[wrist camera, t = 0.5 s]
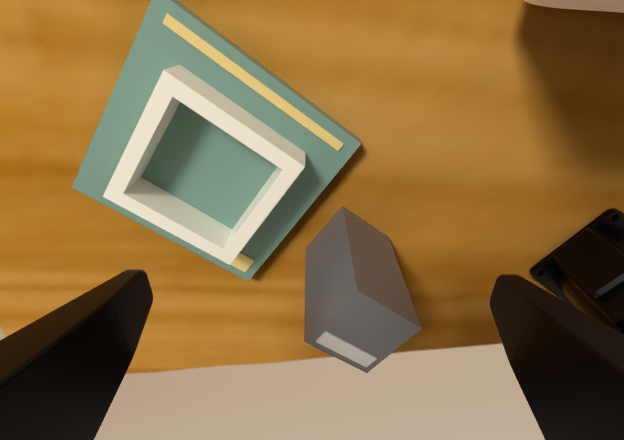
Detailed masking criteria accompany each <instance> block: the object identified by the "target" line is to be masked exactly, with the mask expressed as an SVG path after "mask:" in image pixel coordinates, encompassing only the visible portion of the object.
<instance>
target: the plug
mask: <svg viewBox="0 0 624 440" xmlns="http://www.w3.org/2000/svg"><path fill="white" fill-rule="evenodd" d="M421 329H422V327H421V324H420V321H419V319H418V316H417V313H416V310H415V308H414V305H413V302H412V299H411V297H410V294H409V291H408V288H407V286H406V283H405V280H404V277H403V275H402V272H401V269H400V267H399V264H398V261H397V258H396V256H395V253H394V250H393V247H392V245H391V242H390V239H389V237H388V236H386V235H385V234H383V233H382V232H380V231H379V230H377V229H376V228H374V227H373V226H371V225H370V224H368V223H367V222H365V221H364V220H362V219H361V218H359V217H358V216H356V215H355V214H353V213H352V212H350V211H349V210H347V209H346V208H344V207H343V206H342V207H341V209H340V210H339V211H338V212H337V213H336V214H335V215H334V217H333V218H332V219H331V220H330V221H329V222H328V223H327V225H326V226H325V227H324V228H323V229H322V230H321V231H320V233H319V234H318V235H317V236H316V237H315V238H314V239H313V241H312V242H311V243H310V244H309V245H308V246H307V247H306V278H305V333H304V342H306V343H308V344H310V345H312V346H314V347H316V348H318V349H320V350H322V351H324V352H326V353H328V354H330V355H332V356H334V357H336V358H338V359H340V360H342V361H344V362H346V363H348V364H350V365H352V366H354V367H356V368H358V369H360V370H362V371H364V372H366V373H367V372H368V371H370V370H371V369H372V368H374V367H375V366H376V365H377V364H379V363H380V362H381V361H382V360H384V359H385V358H386V357H387V356H388V355H390V354H391V353H392V352H394V351H395V350H396V349H397V348H399V347H400V346H401V345H402V344H404V343H405V342H406V341H407V340H409V339H410V338H411V337H412V336H414V335H415V334H416V333H417V332H419V331H420V330H421Z"/></svg>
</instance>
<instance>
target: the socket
mask: <svg viewBox="0 0 624 440" xmlns="http://www.w3.org/2000/svg"><path fill="white" fill-rule="evenodd" d="M180 102H181V103H183V104H184V105H186V106H187V107H189V108H190V109H192V110H193V111H195V112H196V113H198V114H199V115H201V116H202V117H204V118H205V119H207V120H208V121H210V122H211V123H213V124H214V125H216V126H217V127H219V128H220V129H222V130H223V131H225V132H226V133H228V134H229V135H231V136H232V137H234V138H235V139H237V140H238V141H240V142H241V143H243V144H244V145H246V146H247V147H249V148H250V149H252V150H253V151H255V152H256V153H258V154H260V155H261V156H263V157H264V158H266V159H267V160H269V161H270V162H272V163H273V164H275V165H276V166H277V168H276V169H275V171H274V172H273V173H272V175H271V176H270V178H269V179H268V180H267V182H266V183H265V184H264V186H263V187H262V189H261V190H260V191H259V193H258V194H257V196H256V197H255V198H254V200H253V201H252V202H251V204H250V205H249V207H248V208H247V209H246V211H245V212H244V213H243V215H242V216H241V218H240V219H239V220H238V222H237V223H236V225H235V226H234V227H233V229H230V228H229V227H227V226H225V225H224V224H222V223H220V222H218V221H217V220H215V219H213V218H211V217H210V216H208V215H206V214H204V213H203V212H201V211H199V210H197V209H196V208H194V207H192V206H190V205H189V204H187V203H185V202H183V201H182V200H180V199H178V198H176V197H175V196H173V195H171V194H170V193H168V192H166V191H164V190H163V189H161V188H159V187H157V186H156V185H154V184H152V183H150V182H149V181H147V180H145V179H143V178H142V177H141V176H142V174H143V172H144V170H145V168H146V167H147V165H148V163H149V161H150V159H151V157H152V155H153V153H154V151H155V149H156V147H157V146H158V144H159V142H160V140H161V138H162V136H163V134H164V132H165V130H166V128H167V126H168V125H169V123H170V121H171V119H172V117H173V115H174V113H175V111H176V109H177V107H178V106H179V104H180ZM304 167H305V152H304V151H303V150H301V149H300V148H299V147H297V146H296V145H294V144H293V143H291V142H290V141H289V140H287V139H286V138H284V137H283V136H281V135H280V134H279V133H277V132H276V131H274V130H273V129H271V128H270V127H269V126H267V125H266V124H264V123H263V122H261V121H260V120H259V119H257V118H256V117H254V116H253V115H251V114H250V113H249V112H247V111H246V110H244V109H243V108H241V107H240V106H239V105H237V104H236V103H234V102H233V101H231V100H230V99H229V98H227V97H226V96H224V95H223V94H221V93H220V92H219V91H217V90H216V89H214V88H213V87H211V86H210V85H209V84H207V83H206V82H204V81H203V80H201V79H200V78H199V77H197V76H196V75H194V74H193V73H191V72H190V71H189V70H187V69H186V68H184V67H183V66H182V65H180V64H179V65H176V66H173V67H170V68H167V69H164V70H163V72H162V74H161V76H160V78H159V80H158V82H157V84H156V86H155V88H154V90H153V92H152V95H151V97H150V99H149V101H148V103H147V105H146V107H145V109H144V111H143V113H142V115H141V118H140V120H139V122H138V124H137V126H136V128H135V130H134V132H133V134H132V136H131V138H130V140H129V143H128V145H127V147H126V149H125V151H124V153H123V155H122V157H121V159H120V161H119V163H118V165H117V168H116V170H115V172H114V174H113V176H112V178H111V180H110V182H109V184H108V186H107V188H106V190H105V193H104V195H103V197H104V198H106V199H108V200H110V201H112V202H114V203H115V204H117V205H119V206H121V207H123V208H125V209H127V210H128V211H130V212H132V213H134V214H136V215H138V216H140V217H141V218H143V219H145V220H147V221H149V222H151V223H153V224H154V225H156V226H158V227H160V228H162V229H164V230H166V231H167V232H169V233H171V234H173V235H175V236H177V237H179V238H180V239H182V240H184V241H186V242H188V243H190V244H192V245H193V246H195V247H197V248H199V249H201V250H203V251H205V252H207V253H208V254H210V255H212V256H214V257H216V258H218V259H220V260H221V261H223V262H225V263H227V264H229V265H230V264H231V263H232V262H233V260H234V259H235V258H236V256H237V255H238V254H239V252H240V251H241V250H242V248H243V247H244V246H245V245H246V243H247V242H248V241H249V239H250V238H251V237H252V235H253V234H254V233H255V231H256V230H257V229H258V228H259V226H260V225H261V224H262V222H263V221H264V220H265V218H266V217H267V216H268V214H269V213H270V212H271V211H272V209H273V208H274V207H275V205H276V204H277V203H278V201H279V200H280V199H281V197H282V196H283V195H284V194H285V192H286V191H287V190H288V188H289V187H290V186H291V184H292V183H293V182H294V180H295V179H296V178H297V177H298V175H299V174H300V173H301V171H302V170H303V169H304Z"/></svg>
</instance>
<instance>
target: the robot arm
mask: <svg viewBox="0 0 624 440" xmlns="http://www.w3.org/2000/svg"><path fill="white" fill-rule="evenodd" d="M612 216H613V217H612ZM611 217H612V218H611ZM539 271H540V272H539ZM530 273H531V274H532V276H533V277H534V278H535V279H537V280H538V281H539V282H541V283H542V284H543V285H545V286H546V287H547V288H549V289H550V290H551V291H553V292H554V293H555V294H557V295H558V296H559V297H561V298H562V299H563V300H565V301H566V302H567V303H566V302H565V301H563V300H561V299H559V298H558V297H556V296H554V295H552V294H551V293H549V292H547V291H545V290H544V289H542V288H540V287H538V286H536V285H535V284H533V283H531V282H529V281H528V280H526V279H524V278H522V277H521V276H519V275H515V274H502V275H500V276H498V278H497V280H496V283H495V286H494V289H493V292H492V295H491V298H490V308H491V311H492V314H493V317H494V320H495V323H496V326H497V328H498V331H499V334H500V337H501V340H502V343H503V346H504V349H505V351H506V354H507V357H508V360H509V362H510V365H511V367H512V369H513V371H514V373H515V376H516V378H517V380H518V382H519V384H520V387H521V389H522V391H523V393H524V395H525V397H526V399H527V401H528V404H529V406H530V408H531V410H532V412H533V414H534V416H535V418H536V421H537V423H538V425H539V427H540V429H541V431H542V433H543V435H544V438H545V440H624V214H623V213H622V212H621V211H619V210H617V209H616V208H612V209H609V210H607V211H605V212H604V213H603V214H602V215H600V216H599V217H598V218H596V219H595V220H594V221H592V222H591V223H590V224H588V225H587V226H586V227H585V228H583V229H582V230H581V231H579V232H578V233H577V234H575V235H574V236H573V237H571V238H570V239H569V240H567V241H566V242H565V243H564V244H562V245H561V246H560V247H558V248H557V249H556V250H554V251H553V252H552V253H550V254H549V255H548V256H547V257H545V258H544V259H543V260H541V261H540V262H539V263H537V264H536V265H535V266H533V267H532V268H531V270H530ZM152 302H153V294H152V290H151V287H150V283H149V280H148V276H147V274H146V272H145V271H144V270H133V269H130V270H126V271H124V272H122V273H120V274H119V275H117V276H115V277H113V278H111V279H110V280H108V281H106V282H104V283H102V284H101V285H99V286H97V287H95V288H93V289H92V290H90V291H88V292H86V293H84V294H83V295H81V296H79V297H77V298H76V299H74V300H72V301H70V302H68V303H67V304H65V305H63V306H61V307H59V308H58V309H56V310H54V311H52V312H50V313H49V314H47V315H45V316H43V317H41V318H40V319H38V320H36V321H34V322H32V323H31V324H29V325H27V326H25V327H24V328H22V329H20V330H18V331H16V332H15V333H13V334H11V335H9V336H7V337H6V338H4V339H2V340H0V440H94V438H95V436H96V434H97V432H98V430H99V428H100V426H101V423H102V422H103V419H104V417H105V415H106V413H107V411H108V409H109V407H110V404H111V403H112V401H113V398H114V396H115V394H116V392H117V390H118V388H119V386H120V384H121V382H122V380H123V377H124V375H125V373H126V371H127V369H128V367H129V365H130V363H131V360H132V358H133V356H134V353H135V351H136V348H137V345H138V342H139V339H140V337H141V334H142V331H143V328H144V325H145V322H146V319H147V317H148V314H149V311H150V308H151V305H152ZM568 303H569V304H568Z"/></svg>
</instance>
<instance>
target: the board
mask: <svg viewBox="0 0 624 440" xmlns="http://www.w3.org/2000/svg"><path fill="white" fill-rule="evenodd" d="M179 64H180V65H182V66H183V67H184V68H186V69H187V70H189V71H190V72H191V73H193V74H194V75H196V76H197V77H199V78H200V79H201V80H203V81H204V82H206V83H207V84H209V85H210V86H211V87H213V88H214V89H216V90H217V91H219V92H220V93H221V94H223V95H224V96H226V97H227V98H229V99H230V100H231V101H233V102H234V103H236V104H237V105H239V106H240V107H241V108H243V109H244V110H246V111H247V112H249V113H250V114H251V115H253V116H254V117H256V118H257V119H259V120H260V121H261V122H263V123H264V124H266V125H267V126H269V127H270V128H271V129H273V130H274V131H276V132H277V133H279V134H280V135H281V136H283V137H284V138H286V139H287V140H289V141H290V142H291V143H293V144H294V145H296V146H297V147H299V148H300V149H301V150H303V151H304V152H305V167H304V169H303V170H302V171H301V173H300V174H299V175H298V177H297V178H296V179H295V180H294V182H293V183H292V184H291V186H290V187H289V188H288V190H287V191H286V192H285V194H284V195H283V196H282V197H281V199H280V200H279V201H278V203H277V204H276V205H275V207H274V208H273V209H272V211H271V212H270V213H269V214H268V216H267V217H266V218H265V220H264V221H263V222H262V224H261V225H260V226H259V228H258V229H257V230H256V231H255V233H254V234H253V235H252V237H251V238H250V239H249V241H248V242H247V243H246V245H245V246H244V247H243V248H242V250H241V251H240V252H239V254H238V255H237V256H236V258H235V259H234V260H233V262H232V263H231V264H230V265H229V264H227V263H225V262H223V261H221V260H220V259H218V258H216V257H214V256H212V255H210V254H208V253H207V252H205V251H203V250H201V249H199V248H197V247H195V246H193V245H192V244H190V243H188V242H186V241H184V240H182V239H180V238H179V237H177V236H175V235H173V234H171V233H169V232H167V231H166V230H164V229H162V228H160V227H158V226H156V225H154V224H153V223H151V222H149V221H147V220H145V219H143V218H141V217H140V216H138V215H136V214H134V213H132V212H130V211H128V210H127V209H125V208H123V207H121V206H119V205H117V204H115V203H114V202H112V201H110V200H108V199H106V198H104V197H103V195H104V193H105V190H106V188H107V186H108V184H109V182H110V180H111V178H112V176H113V174H114V172H115V170H116V168H117V165H118V163H119V161H120V159H121V157H122V155H123V153H124V151H125V149H126V147H127V145H128V143H129V140H130V138H131V136H132V134H133V132H134V130H135V128H136V126H137V124H138V122H139V120H140V118H141V115H142V113H143V111H144V109H145V107H146V105H147V103H148V101H149V99H150V97H151V95H152V92H153V90H154V88H155V86H156V84H157V82H158V80H159V78H160V76H161V74H162V72H163V70H164V69H167V68H170V67H173V66H176V65H179ZM360 145H361V142H360V140H359V138H358V137H356V136H355V135H354V134H352V133H351V132H350V131H348V130H347V129H346V128H344V127H343V126H342V125H340V124H339V123H338V122H336V121H335V120H334V119H332V118H331V117H330V116H329V115H327V114H326V113H325V112H323V111H322V110H321V109H319V108H318V107H317V106H315V105H314V104H313V103H311V102H310V101H309V100H307V99H306V98H305V97H303V96H302V95H301V94H300V93H298V92H297V91H296V90H294V89H293V88H292V87H290V86H289V85H288V84H286V83H285V82H284V81H282V80H281V79H280V78H278V77H277V76H276V75H274V74H273V73H272V72H271V71H269V70H268V69H267V68H265V67H264V66H263V65H261V64H260V63H259V62H257V61H256V60H255V59H253V58H252V57H251V56H249V55H248V54H247V53H245V52H244V51H243V50H242V49H240V48H239V47H238V46H236V45H235V44H234V43H232V42H231V41H230V40H228V39H227V38H226V37H224V36H223V35H222V34H220V33H219V32H218V31H216V30H215V29H214V28H212V27H211V26H210V25H209V24H207V23H206V22H205V21H203V20H202V19H201V18H199V17H198V16H197V15H195V14H194V13H193V12H191V11H190V10H189V9H187V8H186V7H185V6H183V5H182V4H181V3H180V2H178V1H177V0H151V3H150V5H149V7H148V10H147V12H146V14H145V17H144V19H143V21H142V24H141V26H140V28H139V31H138V33H137V36H136V38H135V40H134V43H133V45H132V47H131V50H130V52H129V54H128V57H127V59H126V61H125V64H124V66H123V68H122V71H121V73H120V76H119V78H118V80H117V83H116V85H115V87H114V90H113V92H112V94H111V97H110V99H109V101H108V104H107V106H106V108H105V111H104V113H103V116H102V118H101V120H100V123H99V125H98V127H97V130H96V132H95V134H94V137H93V139H92V141H91V144H90V146H89V148H88V151H87V153H86V156H85V158H84V160H83V163H82V165H81V167H80V170H79V172H78V174H77V177H76V179H75V181H74V184H73V186H72V188H74V189H76V190H78V191H79V192H81V193H83V194H85V195H87V196H89V197H91V198H93V199H95V200H96V201H98V202H100V203H102V204H104V205H106V206H108V207H110V208H111V209H113V210H115V211H117V212H119V213H121V214H123V215H125V216H127V217H128V218H130V219H132V220H134V221H136V222H138V223H140V224H142V225H143V226H145V227H147V228H149V229H151V230H153V231H155V232H157V233H159V234H160V235H162V236H164V237H166V238H168V239H170V240H172V241H174V242H175V243H177V244H179V245H181V246H183V247H185V248H187V249H189V250H190V251H192V252H194V253H196V254H198V255H200V256H202V257H204V258H206V259H207V260H209V261H211V262H213V263H215V264H217V265H219V266H221V267H222V268H224V269H226V270H228V271H230V272H232V273H234V274H236V275H238V276H239V277H241V278H243V279H245V280H247V281H249V280H250V279H251V278H252V276H253V275H254V274H255V273H256V271H257V270H258V269H259V268H260V267H261V265H262V264H263V263H264V262H265V261H266V259H267V258H268V257H269V256H270V254H271V253H272V252H273V251H274V250H275V248H276V247H277V246H278V245H279V243H280V242H281V241H282V240H283V239H284V237H285V236H286V235H287V234H288V233H289V231H290V230H291V229H292V228H293V226H294V225H295V224H296V223H297V222H298V220H299V219H300V218H301V217H302V215H303V214H304V213H305V212H306V211H307V209H308V208H309V207H310V206H311V205H312V203H313V202H314V201H315V200H316V198H317V197H318V196H319V195H320V194H321V192H322V191H323V190H324V189H325V188H326V186H327V185H328V184H329V183H330V181H331V180H332V179H333V178H334V177H335V175H336V174H337V173H338V172H339V170H340V169H341V168H342V167H343V166H344V164H345V163H346V162H347V161H348V160H349V158H350V157H351V156H352V155H353V153H354V152H355V151H356V150H357V149H358V147H359V146H360ZM276 168H277V166H276V165H275V164H273V163H272V162H270V161H269V160H267V159H266V158H264V157H263V156H261V155H260V154H258V153H256V152H255V151H253V150H252V149H250V148H249V147H247V146H246V145H244V144H243V143H241V142H240V141H238V140H237V139H235V138H234V137H232V136H231V135H229V134H228V133H226V132H225V131H223V130H222V129H220V128H219V127H217V126H216V125H214V124H213V123H211V122H210V121H208V120H207V119H205V118H204V117H202V116H201V115H199V114H198V113H196V112H195V111H193V110H192V109H190V108H189V107H187V106H186V105H184V104H183V103H181V102H180V104H179V106H178V107H177V109H176V111H175V113H174V115H173V117H172V119H171V121H170V123H169V125H168V126H167V128H166V130H165V132H164V134H163V136H162V138H161V140H160V142H159V144H158V146H157V147H156V149H155V151H154V153H153V155H152V157H151V159H150V161H149V163H148V165H147V167H146V168H145V170H144V172H143V174H142V176H141V177H142V178H143V179H145V180H147V181H149V182H150V183H152V184H154V185H156V186H157V187H159V188H161V189H163V190H164V191H166V192H168V193H170V194H171V195H173V196H175V197H176V198H178V199H180V200H182V201H183V202H185V203H187V204H189V205H190V206H192V207H194V208H196V209H197V210H199V211H201V212H203V213H204V214H206V215H208V216H210V217H211V218H213V219H215V220H217V221H218V222H220V223H222V224H224V225H225V226H227V227H229V228H230V229H233V227H234V226H235V225H236V223H237V222H238V220H239V219H240V218H241V216H242V215H243V213H244V212H245V211H246V209H247V208H248V207H249V205H250V204H251V202H252V201H253V200H254V198H255V197H256V196H257V194H258V193H259V191H260V190H261V189H262V187H263V186H264V184H265V183H266V182H267V180H268V179H269V178H270V176H271V175H272V173H273V172H274V171H275V169H276Z"/></svg>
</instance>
